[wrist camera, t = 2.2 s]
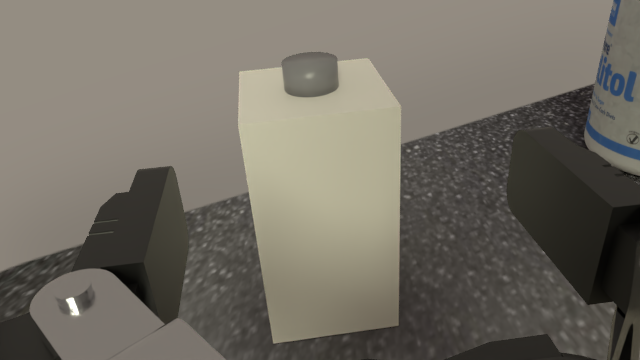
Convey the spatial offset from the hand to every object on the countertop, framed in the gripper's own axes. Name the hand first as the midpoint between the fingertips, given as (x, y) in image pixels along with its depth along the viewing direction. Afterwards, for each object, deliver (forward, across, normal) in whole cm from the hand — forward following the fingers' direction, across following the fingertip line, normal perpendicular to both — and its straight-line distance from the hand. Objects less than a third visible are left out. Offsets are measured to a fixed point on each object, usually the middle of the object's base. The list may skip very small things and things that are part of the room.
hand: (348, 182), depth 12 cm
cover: (+12, 0, +14) cm, 18 cm away
